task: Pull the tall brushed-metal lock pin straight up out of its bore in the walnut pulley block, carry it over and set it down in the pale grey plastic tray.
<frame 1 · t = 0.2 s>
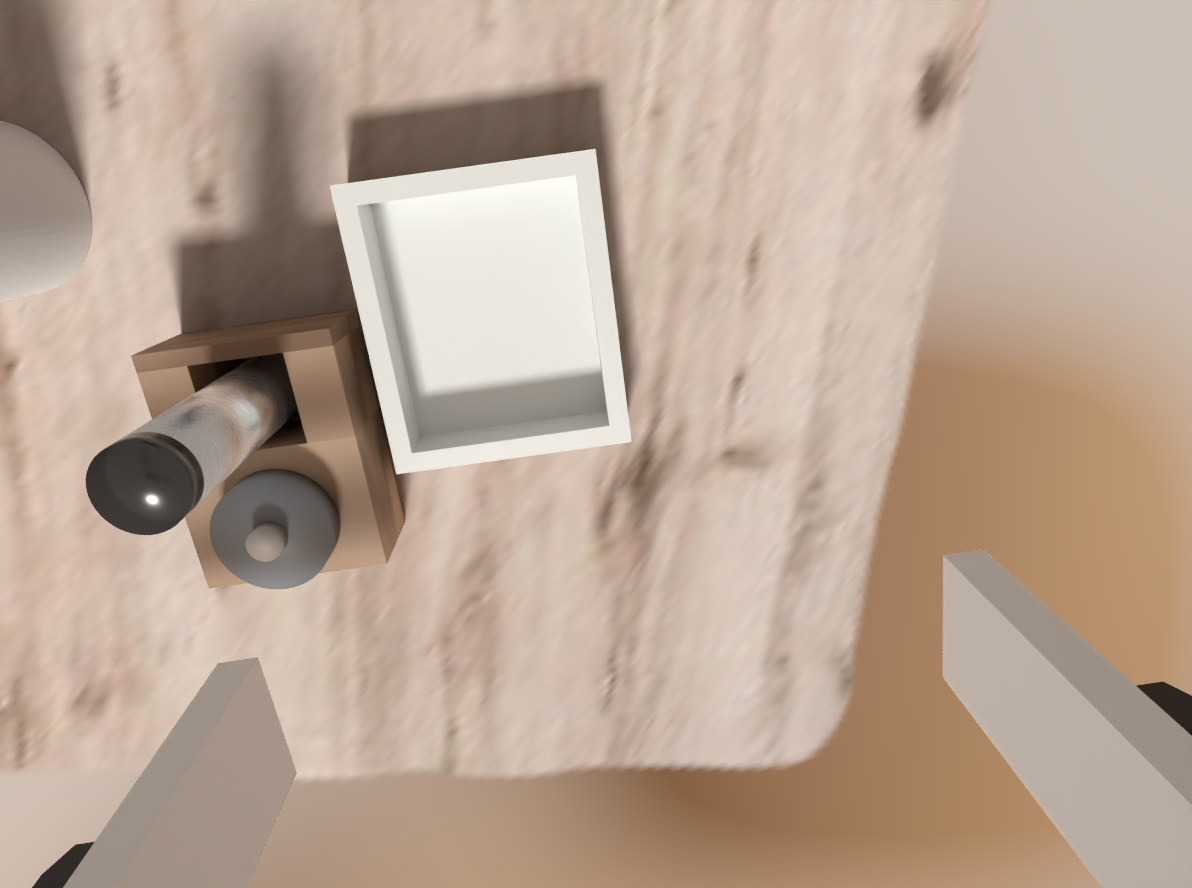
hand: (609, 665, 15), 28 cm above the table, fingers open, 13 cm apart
lock pin: (283, 378, 41), resting in pulley block
white cylinder: (6, 209, 38), on the table
tray: (494, 310, 41), on the table
pulley block: (298, 432, 42), on the table
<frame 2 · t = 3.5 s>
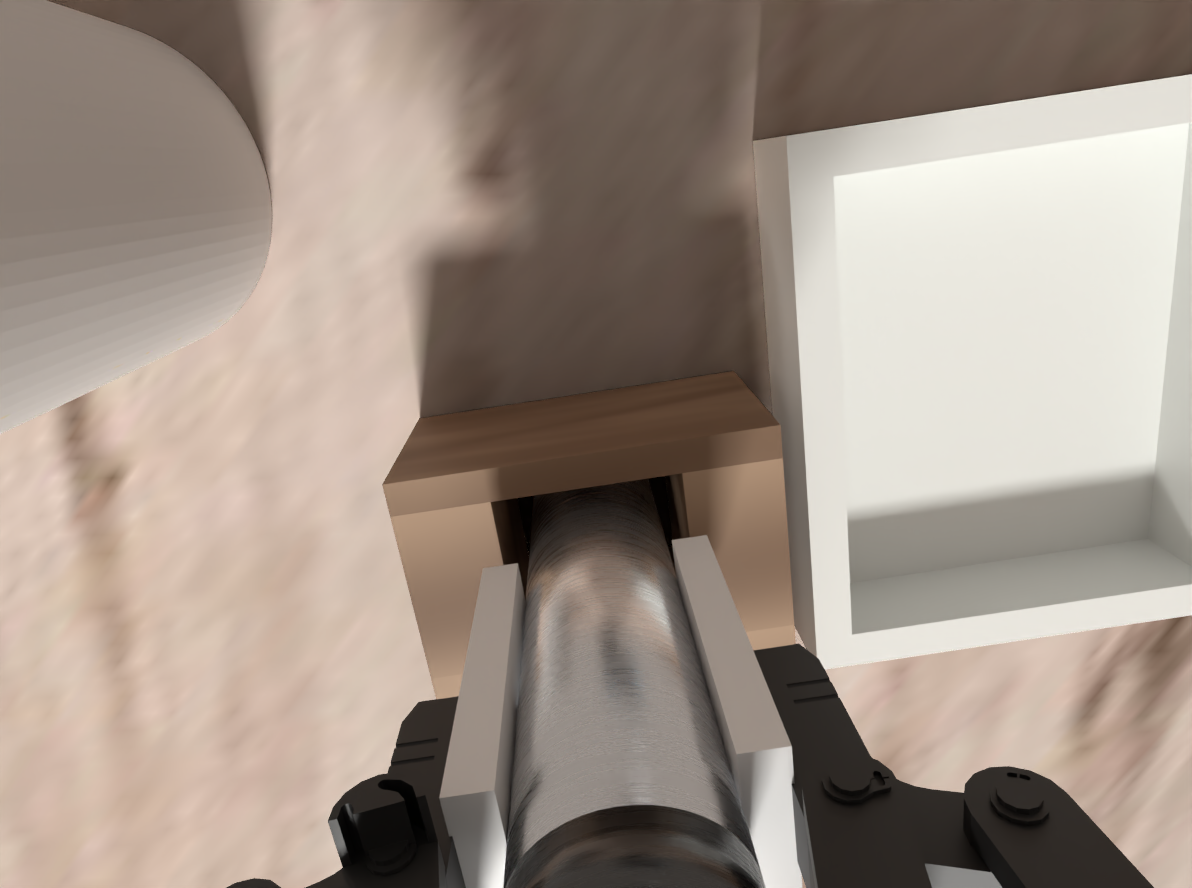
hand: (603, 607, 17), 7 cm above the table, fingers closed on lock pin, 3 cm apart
lock pin: (591, 491, 23), resting in pulley block, touching gripper
white cylinder: (113, 196, 20), on the table
tray: (978, 368, 23), on the table
pulley block: (605, 580, 24), on the table
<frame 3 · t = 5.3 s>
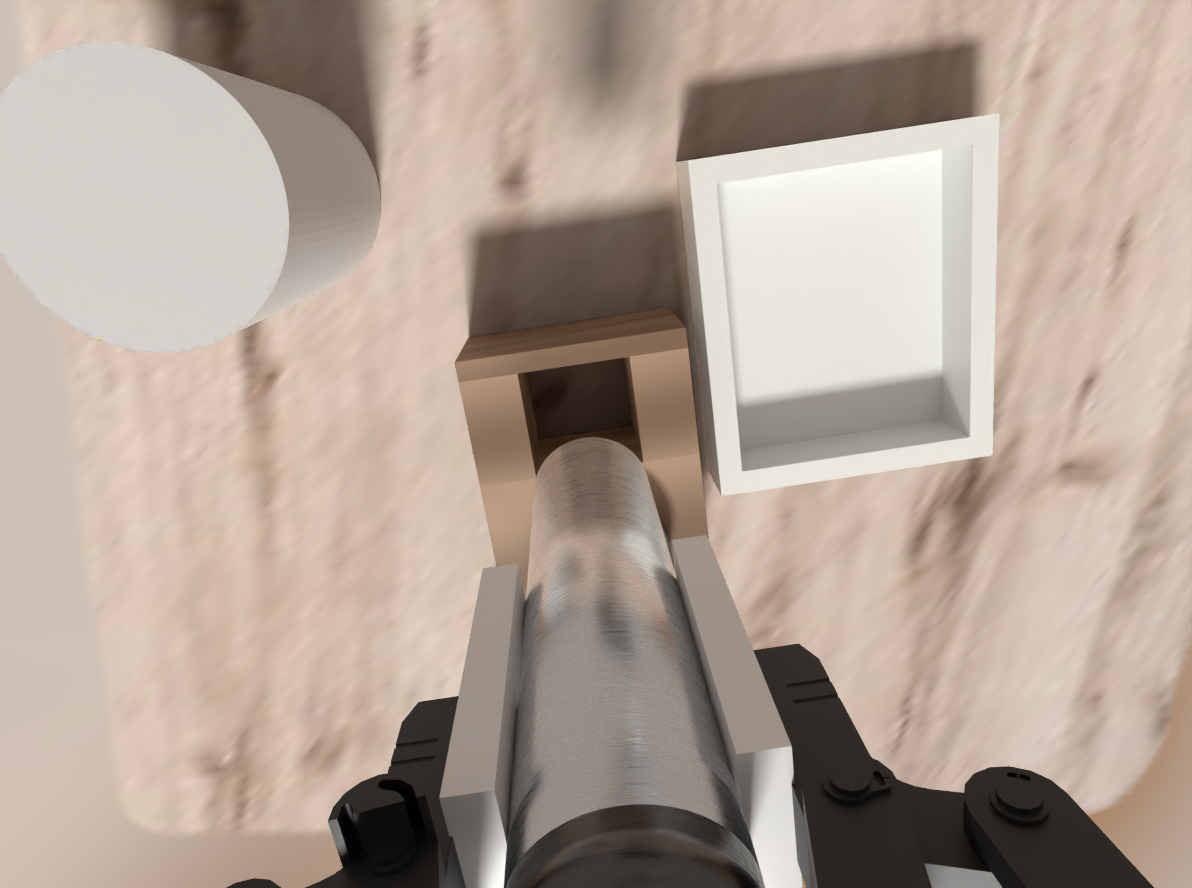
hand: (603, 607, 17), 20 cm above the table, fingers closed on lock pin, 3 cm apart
lock pin: (591, 491, 23), point 13 cm above the table, touching gripper
white cylinder: (283, 196, 33), on the table
tray: (825, 306, 35), on the table
pulley block: (588, 448, 37), on the table
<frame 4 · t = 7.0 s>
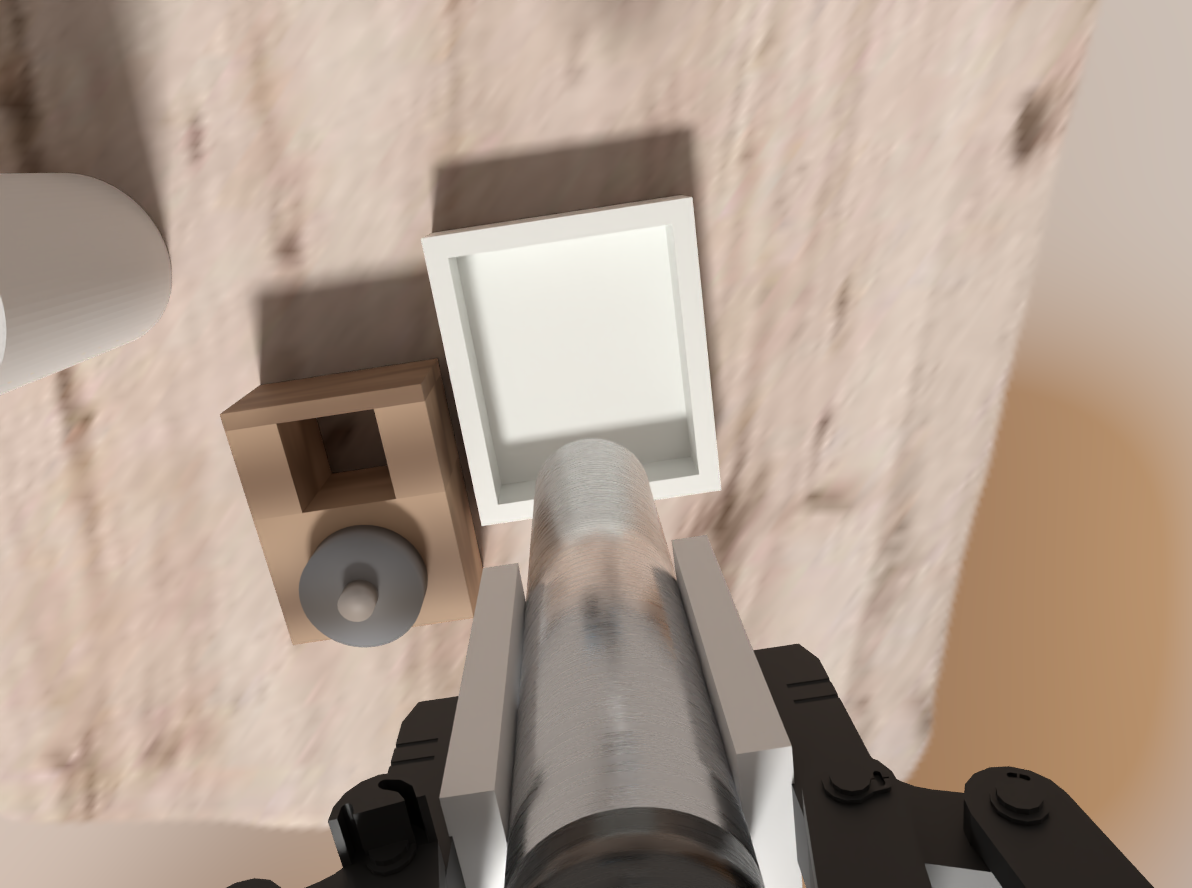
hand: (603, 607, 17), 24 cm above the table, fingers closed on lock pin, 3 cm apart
lock pin: (592, 492, 23), point 17 cm above the table, touching gripper
white cylinder: (85, 263, 38), on the table
tray: (578, 356, 40), on the table
pulley block: (376, 481, 42), on the table
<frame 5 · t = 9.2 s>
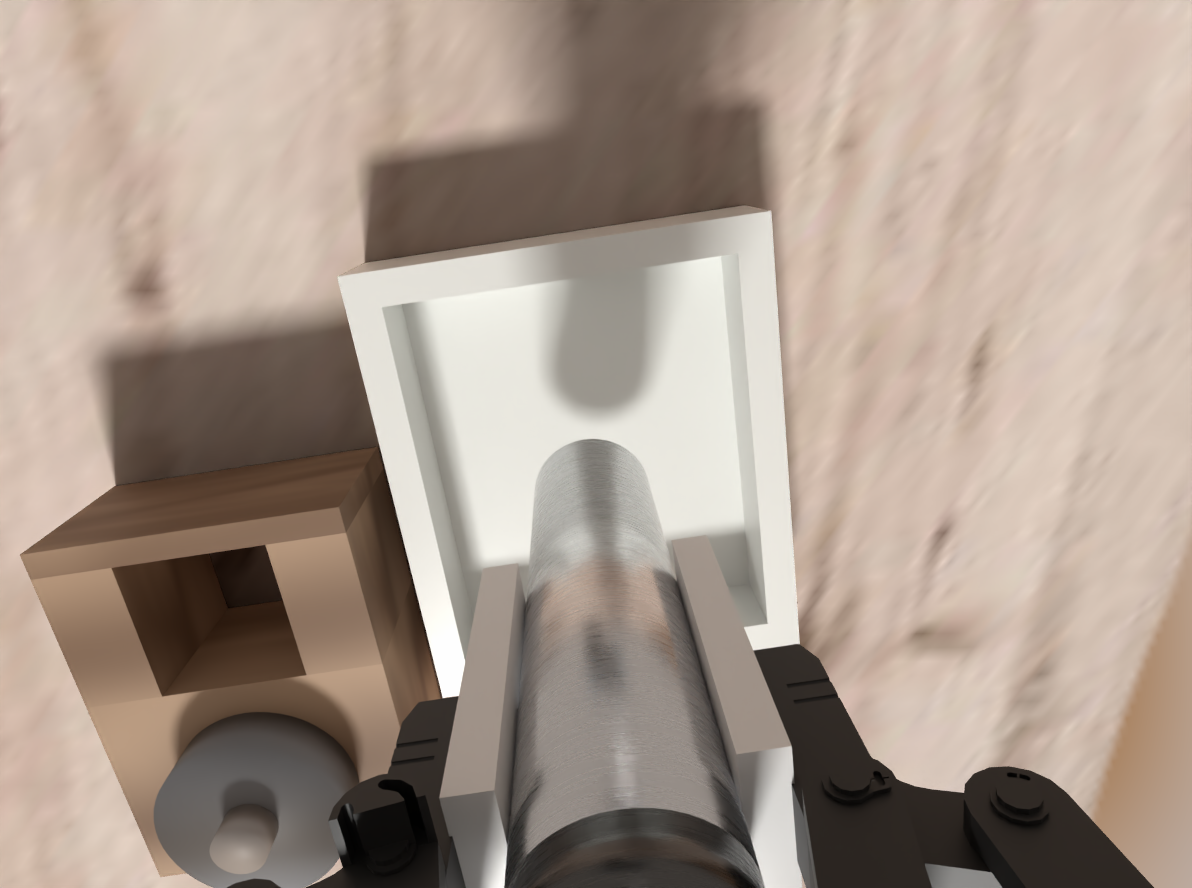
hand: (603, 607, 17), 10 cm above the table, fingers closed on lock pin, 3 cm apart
lock pin: (592, 493, 23), point 4 cm above the table, touching gripper
tray: (587, 443, 27), on the table
pulley block: (294, 618, 29), on the table
when the fingers open (8 cm above the table, at t = 10.7 s): lock pin stays where it is, resting on tray.
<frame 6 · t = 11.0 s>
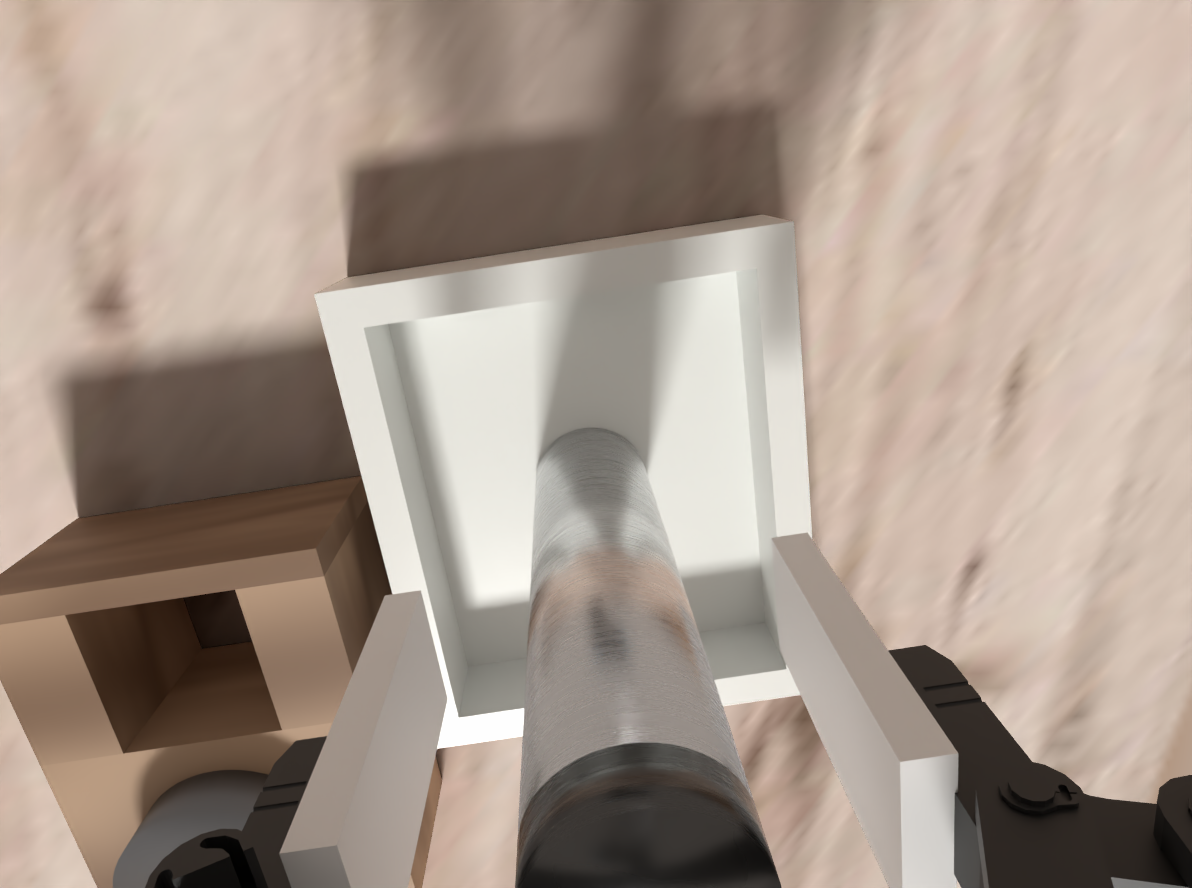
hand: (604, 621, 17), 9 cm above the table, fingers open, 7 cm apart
lock pin: (591, 480, 24), point 1 cm above the table, touching tray
tray: (589, 471, 25), on the table
pulley block: (273, 659, 27), on the table
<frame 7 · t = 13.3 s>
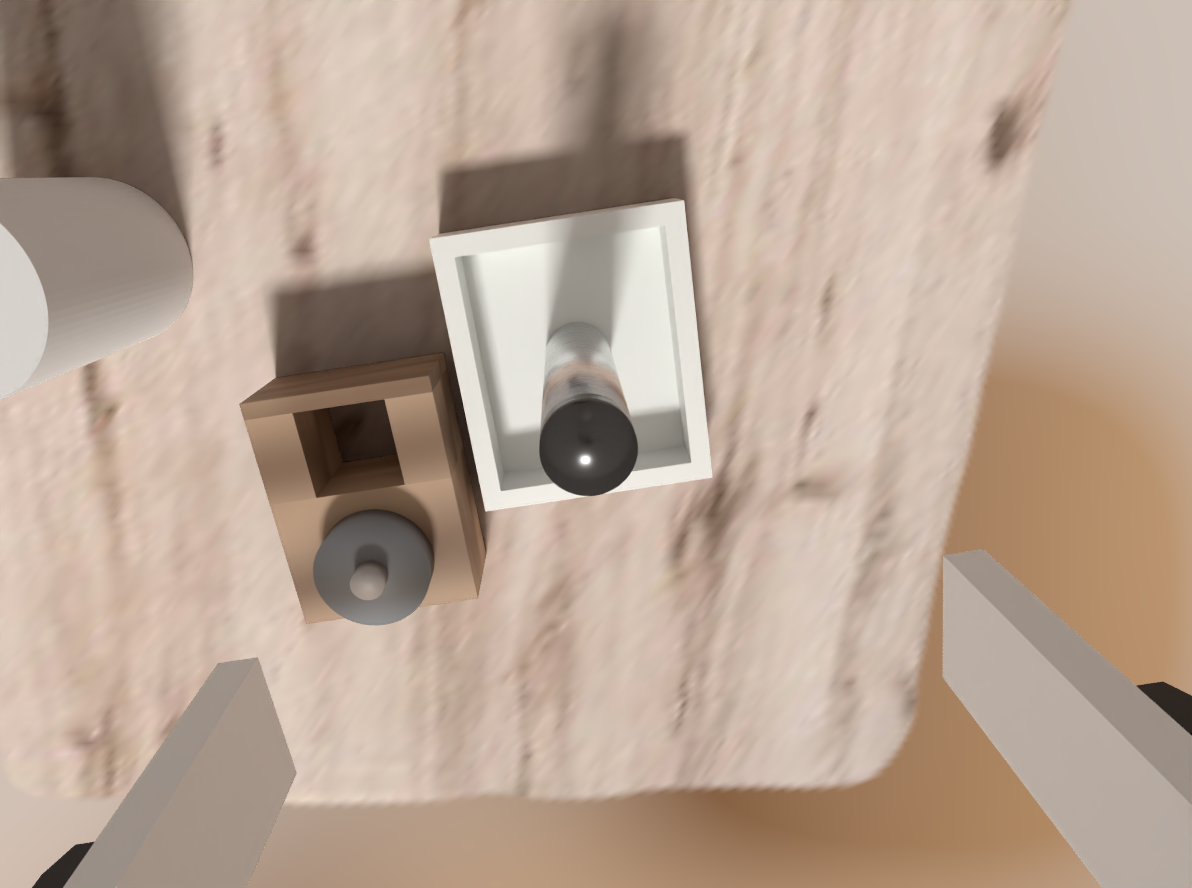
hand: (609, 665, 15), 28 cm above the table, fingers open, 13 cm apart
lock pin: (578, 354, 42), point 1 cm above the table, touching tray
white cylinder: (111, 262, 40), on the table
tray: (577, 351, 42), on the table
pulley block: (385, 470, 44), on the table
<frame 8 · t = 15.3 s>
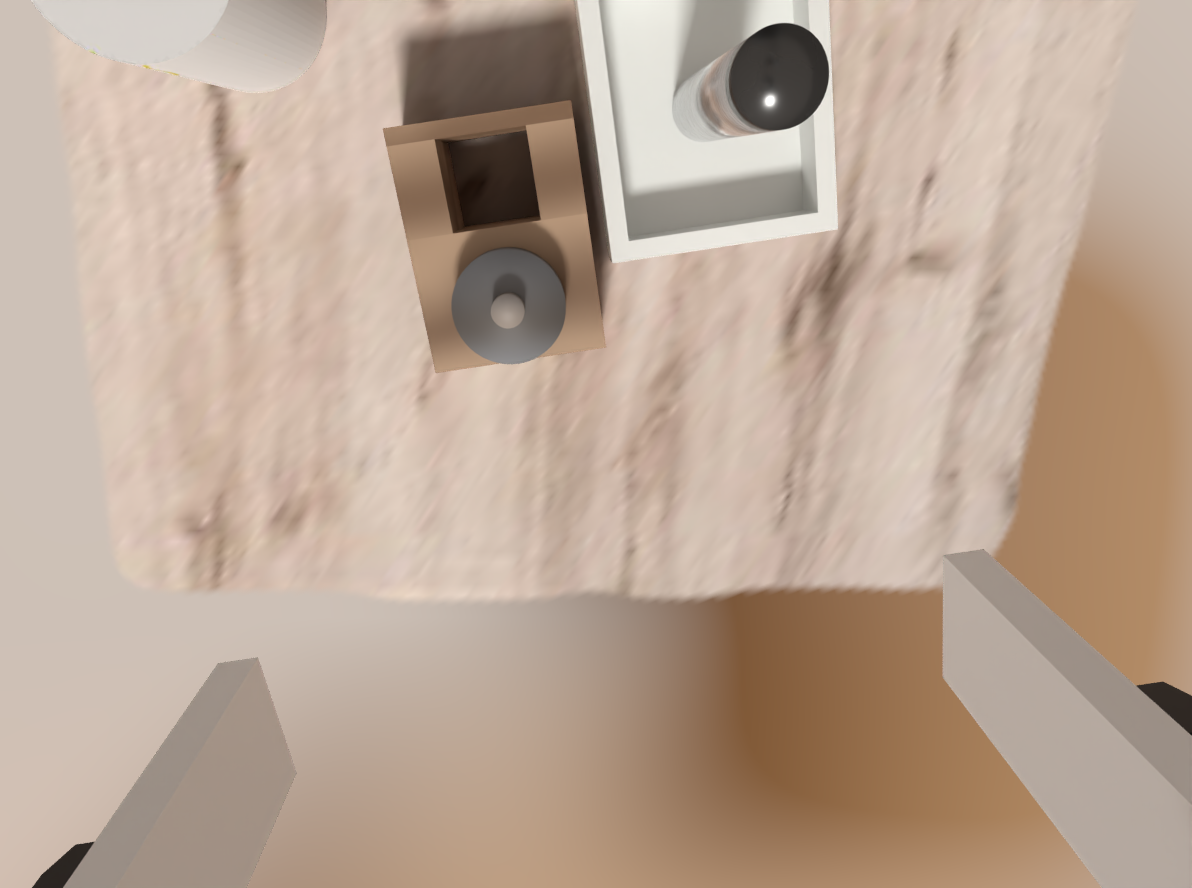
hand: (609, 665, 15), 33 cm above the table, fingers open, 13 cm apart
lock pin: (704, 107, 42), point 1 cm above the table, touching tray
white cylinder: (245, 5, 40), on the table
tray: (701, 108, 42), on the table
pulley block: (506, 235, 44), on the table
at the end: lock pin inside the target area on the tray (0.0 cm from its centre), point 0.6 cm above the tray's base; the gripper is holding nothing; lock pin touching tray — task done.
